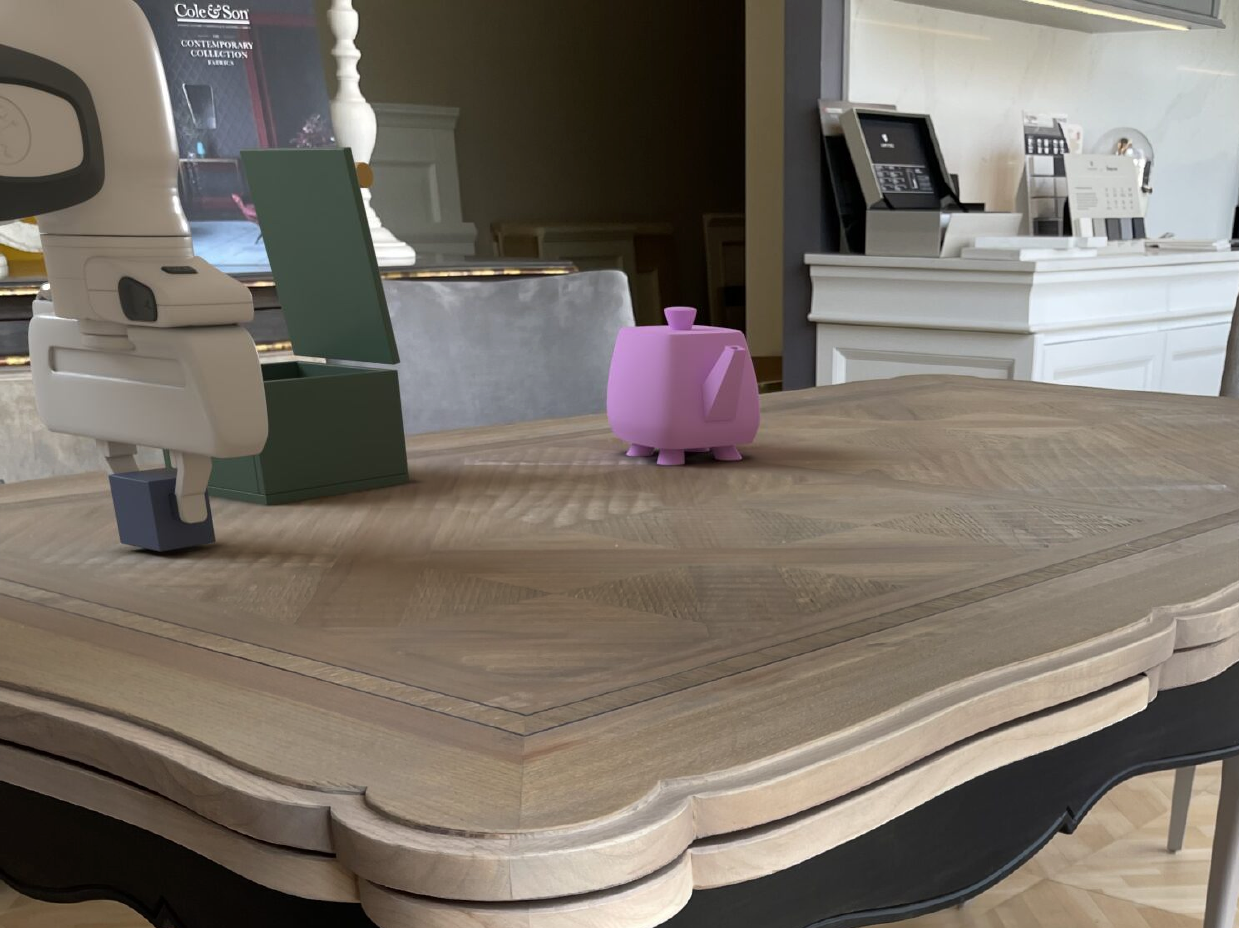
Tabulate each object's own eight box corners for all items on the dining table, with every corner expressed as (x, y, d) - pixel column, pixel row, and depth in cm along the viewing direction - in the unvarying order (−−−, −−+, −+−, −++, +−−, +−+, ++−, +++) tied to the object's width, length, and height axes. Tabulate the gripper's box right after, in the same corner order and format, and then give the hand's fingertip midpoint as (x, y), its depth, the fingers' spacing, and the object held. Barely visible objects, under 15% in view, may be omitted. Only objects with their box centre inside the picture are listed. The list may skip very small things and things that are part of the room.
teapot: (578, 448, 151) (570, 302, 145) (691, 440, 157) (688, 299, 151) (678, 477, 136) (674, 316, 130) (798, 467, 142) (800, 312, 136)
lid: (343, 148, 118) (396, 136, 121) (238, 149, 124) (291, 138, 128) (393, 365, 127) (441, 348, 131) (293, 355, 134) (341, 340, 137)
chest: (267, 506, 122) (249, 383, 117) (169, 489, 128) (148, 372, 124) (410, 483, 132) (398, 369, 128) (312, 468, 138) (298, 360, 134)
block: (160, 551, 103) (148, 481, 101) (120, 543, 106) (107, 474, 103) (216, 542, 107) (205, 474, 104) (176, 534, 109) (165, 467, 107)
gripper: (-15, 281, 101) (31, 504, 108) (181, 296, 91) (219, 541, 98) (74, 279, 106) (113, 493, 113) (270, 293, 96) (300, 527, 102)
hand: (164, 516), depth 105 cm, fingers closed on block, 4 cm apart
